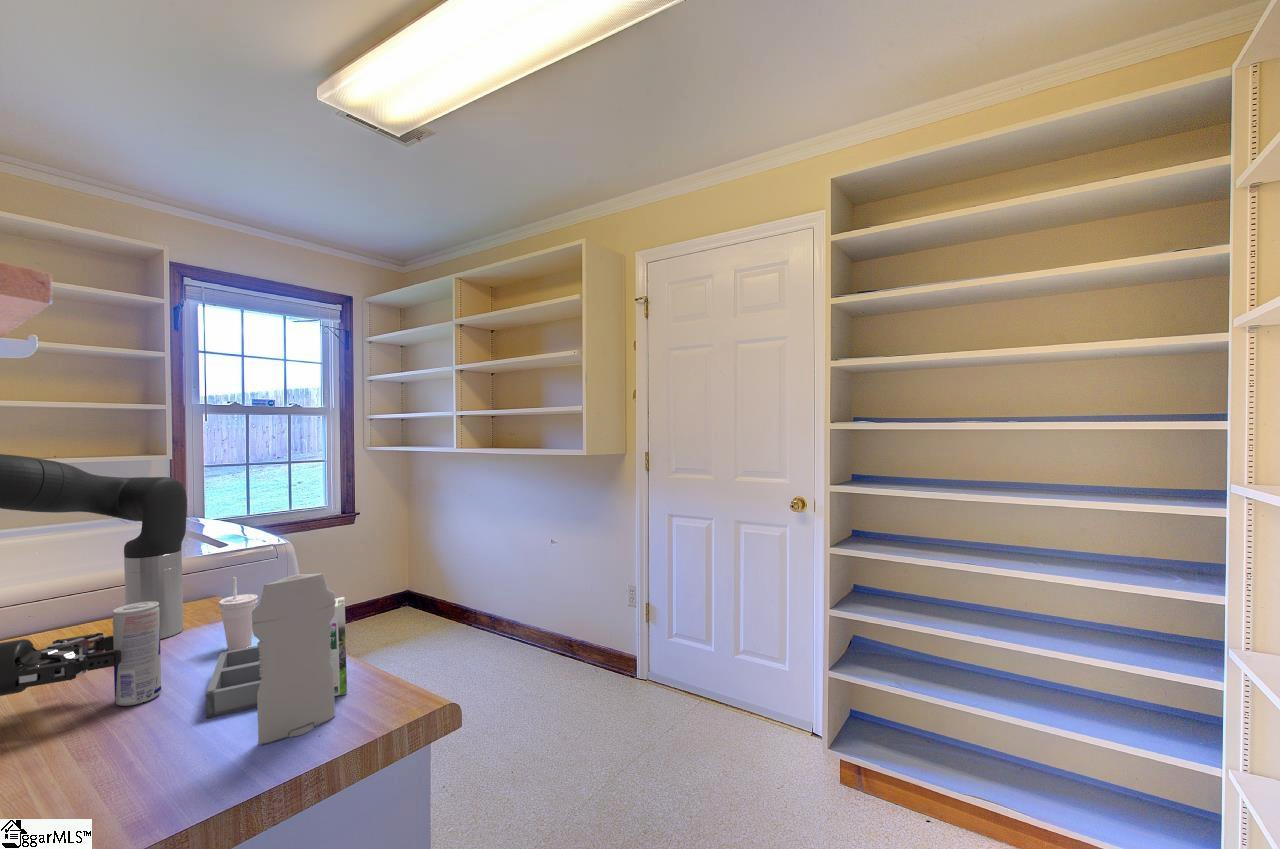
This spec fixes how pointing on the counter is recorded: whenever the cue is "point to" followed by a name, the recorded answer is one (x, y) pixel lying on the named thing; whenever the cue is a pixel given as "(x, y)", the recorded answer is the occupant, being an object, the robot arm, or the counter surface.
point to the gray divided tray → (234, 682)
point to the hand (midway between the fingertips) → (128, 647)
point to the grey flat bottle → (294, 656)
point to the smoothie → (238, 618)
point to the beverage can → (137, 653)
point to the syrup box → (339, 648)
